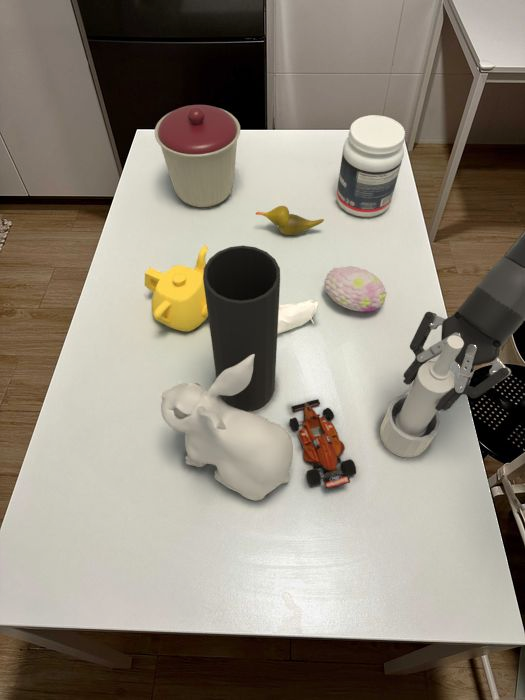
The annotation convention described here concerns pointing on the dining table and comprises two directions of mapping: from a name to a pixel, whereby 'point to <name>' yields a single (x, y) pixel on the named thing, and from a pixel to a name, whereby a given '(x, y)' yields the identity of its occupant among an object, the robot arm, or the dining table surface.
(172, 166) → the canister
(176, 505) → the dining table surface
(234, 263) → the vase
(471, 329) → the robot arm
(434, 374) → the bottle
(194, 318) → the teapot
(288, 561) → the dining table surface
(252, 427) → the rabbit
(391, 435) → the stand
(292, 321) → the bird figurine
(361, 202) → the supplement tub
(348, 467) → the toy car
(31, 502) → the dining table surface
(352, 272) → the decorative item
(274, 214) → the olive yellow toy bird
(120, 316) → the dining table surface
